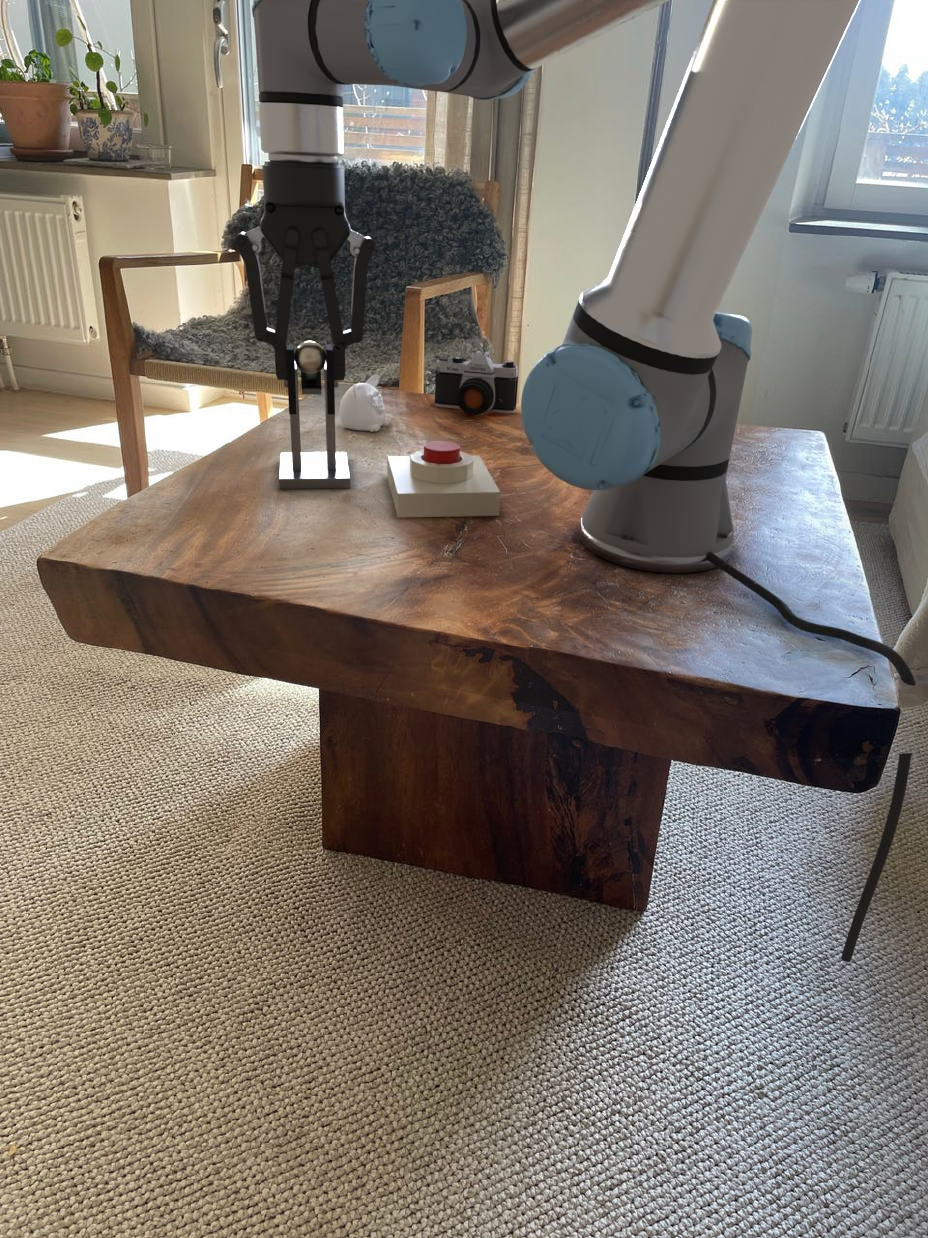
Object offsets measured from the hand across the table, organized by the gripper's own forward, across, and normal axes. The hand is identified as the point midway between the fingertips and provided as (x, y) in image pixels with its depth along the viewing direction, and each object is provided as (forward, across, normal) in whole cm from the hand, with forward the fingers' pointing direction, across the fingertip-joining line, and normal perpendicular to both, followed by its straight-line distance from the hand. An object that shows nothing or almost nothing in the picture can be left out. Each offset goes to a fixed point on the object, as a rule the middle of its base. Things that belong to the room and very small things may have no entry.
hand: (312, 410), depth 93 cm
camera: (+10, -24, -38) cm, 46 cm away
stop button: (+6, -14, -1) cm, 15 cm away
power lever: (-2, 0, -4) cm, 4 cm away
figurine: (+10, -7, -30) cm, 32 cm away
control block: (+10, -14, -1) cm, 17 cm away
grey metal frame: (+10, 0, -9) cm, 13 cm away
